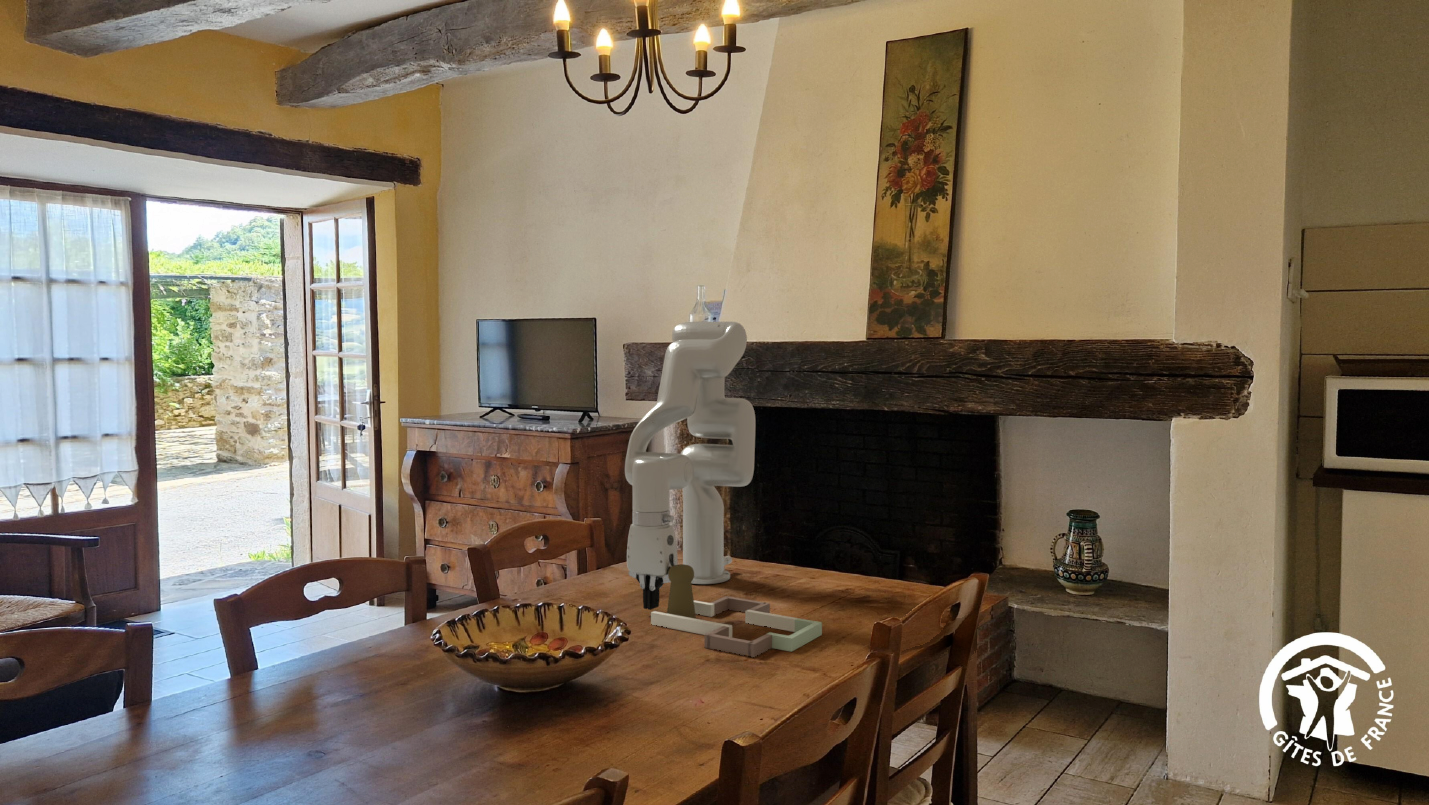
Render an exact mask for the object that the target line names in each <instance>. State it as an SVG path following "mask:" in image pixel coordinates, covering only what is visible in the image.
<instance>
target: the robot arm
mask: <svg viewBox="0 0 1429 805" xmlns="http://www.w3.org/2000/svg"><path fill="white" fill-rule="evenodd" d="M671 337H672V342H671V343H670V344H669V345H668V346H667V348H666V350H665V354H664V359H663V365H662V371H661V376H660V382H659V387H658V392H657V393H658V394H657V400H656V403H655V405H654V406H653V407H652V408H651V409H650V410H649V411H648V412H646V414H644V416H643V417H642V418H641V419H640V420H639V421H638V423H637V424H636V426H635V427H634V429H632V430H633V431H632V432H631V435H630V436H629V441H628V445H627V451H626V456H625V461H624V476H625V479H626V481H627V482H628V484H629V485H631V486H632V523H631V524H630V527H629V531H628V537H627V549H626V566H627V569H628V576H629V577H632V578H633V579H636V581H637V582H638V583H639V588H640V589H642V603H643V609H644V610H650V611H651V610H654V609H657V608H659V606H660V589H661V588H662V587H663V585H665V584H667V583H671V581H670V580H669V577H668V571H669V569H670V567H671V566H673V565H678V564H679V562H678V561H679V559H678V546H677V539H676V533H675V529H674V525H670V524H671V523H673V521H674V519H675V517H674V515H671V513H670V512H671V510H670V501H671V500H670V493H671V492H670V491H671V490H682V507H683V508H682V564H684V565H689V566H691V567H692V568H693V570H694V578H693V580H692V582H691V584H692V585H693V584H694V585H712V584H713V585H714V584H720V583H724V582H727V581H728V580H730V579H731V572H729V571H728V570H726V569H725V567H726V566H727V565H730V564H731V563H732V562H733V560H732V557H731V556H730V555H726V556H724V555H725V554H724V547H725V546H724V543H725V541H724V540H725V539H724V531H725V530H724V529H725V528H724V520H725V518H724V513H725V506H724V501H723V499H722V496H721V495H720V493H719V491H718V490H717V489H716V487H717V486H718V487H737V488H738V487H739V488H740V487H745V486H748V485H749V484H750V483H751V482H752V480H753V476H754V471H755V456H756V455H755V448H756V414H755V413H756V412H755V410H754V407H753V406H754V405H753V404H752V402H750V401H749V400H747V399H745V398H742V397H741V398H740V397H726V396H725V381H726V380H725V378H726V377H727V376H728V375H729V374H730V373H731V372H732V371H733V369H734V368H735V367H736V365H737V363H739V361H740V360H741V358H742V357H743V355H745V354H744V353H745V350H746V348H747V342H748V341H747V340H748V337H747V332H746V328H745V327H744V326H743V325H742V324H741V323H739V322H736V321H685V322H681V323H679V324H676V325H675V326H674V327H673V330H672V335H671ZM686 419H687V421H686V422H687V429H688V432H689V433H690V435H692V436H693V437H696V438H702V439H722V440H726V439H727V440H731V442H732V444H719V443H717V444H715V443H695V444H690V445H687V446H685V448H683V449H682V450H681V451H680V453H671V452H670V453H668V452H653V451H652V452H651V451H647V448H648V446H649V444H650V442H651V440H652V439H653V437H655V435H656V434H658V433H659V432H661V431H662V430H663V429H666V428H668V427H670V426H672V425H674V424H676V423H679V422H681V421H683V420H686Z"/></svg>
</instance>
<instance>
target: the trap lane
mask: <svg viewBox="0 0 1429 805" xmlns="http://www.w3.org/2000/svg"><path fill="white" fill-rule="evenodd" d="M693 600H694V599H693ZM694 607H695V615H698V614H700V615H699V616H705V617H710V618H712V617H714V616H717V615H718V614H721V613H723V612H722V611H724V612H725V611H728V609H729V611H735V612H739V611H741V612H740V613H745V617H744V620H745V621H744V623H745V624H748V623H749V624H748V625H753V624H754V625H755V626H760V627H764V626H767V627H766V628H770V627H771V629H776V630H777V629H778V630H783V631H786V632H787V631H788V632H793V633H791V634H789V635H787V634H780V633H777V632H776V633H775V632H771V631H769V632H767V633H766V634H763V635H761V636H759V637H757V638H756V639H753V640H748V639H747V640H746V639H742V638H741V639H740V638H735V637H733V625H732V624H727V623H721V622H715V621H712V620H711V621H709V620H704V619H699V618H696V619H695V618H689V617H684V616H678V615H673V614H668V613H667V612H666V613H665V612H661V611H656V610H653V611H651V612H650V625H651V624H652V625H651V626H656V625H657V627H661V626H663V627H662V628H666V627H667V628H666V629H673V630H677V631H683V632H686V633H687V632H688V633H694V634H698V635H703V636H704V637H703V638H704V639H703V640H704V643H703V645H704V646H703V647H705V649H708V650H709V649H710V650H714V649H717V650H716V651H719V650H721V651H720V652H724V651H725V653H729V652H732V653H731V654H734V653H736V654H735V655H739V654H740V655H739V656H744V655H748V656H751V657H750V658H753V657H754V658H756V657H758V656H759V655H762V654H763V653H765V652H767V651H769V650H771V649H775V650H776V649H777V650H781V651H784V652H785V651H786V652H790V653H791V652H793V651H796V650H797V649H799V648H801V647H803V646H804V645H806V644H808V643H809V642H811V641H813V640H815V639H817V638H819V637H820V636H822V634H823V621H817V620H816V621H815V620H809V619H805V618H798V617H793V616H787V615H781V614H776V613H771V612H770V611H771V610H770V609H771V608H770V607H771V604H770V603H769V602H765V601H758V600H753V599H747V598H740V597H734V596H730V595H729V596H727V595H726V596H723V597H721V598H718V599H716V600H713V601H711V602H707V601H700V600H694ZM716 614H717V615H716ZM768 649H769V650H768ZM761 653H762V654H761ZM757 655H758V656H757ZM748 656H747V657H748ZM755 656H756V657H755Z"/></svg>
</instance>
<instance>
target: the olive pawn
mask: <svg viewBox="0 0 1429 805" xmlns="http://www.w3.org/2000/svg"><path fill="white" fill-rule="evenodd" d="M668 577H669V580H670V581H671V582H670V586H669V587H670V588H669V595H668V603H667V610H666V613H668V614H673V615H678V616H684V617H689V618H695V619H697V617H696V615H697V614H695V607H694V593H693V592H694V591H693V586H692V585H693V584H692V583H691V582H692V580H693V578H694V570H693V568H692V567H691V566H689V565H684V564H683V563H681V564H679V563H678V565H673V566H671V567H670V569H669V571H668Z"/></svg>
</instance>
